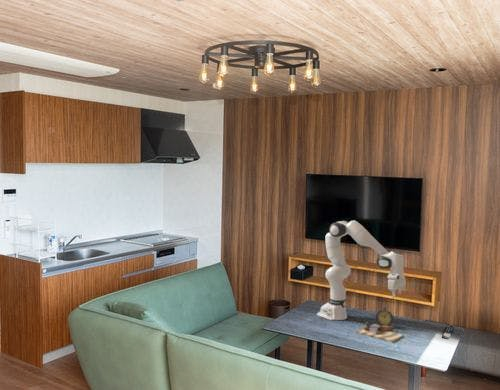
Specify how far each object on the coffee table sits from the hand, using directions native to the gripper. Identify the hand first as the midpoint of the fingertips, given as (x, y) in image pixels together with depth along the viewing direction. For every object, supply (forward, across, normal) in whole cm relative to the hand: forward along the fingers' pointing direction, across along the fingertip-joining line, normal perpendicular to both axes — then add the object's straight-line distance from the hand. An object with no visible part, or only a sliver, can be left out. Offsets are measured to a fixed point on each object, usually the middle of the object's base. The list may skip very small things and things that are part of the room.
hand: (397, 294), depth 327 cm
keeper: (+23, +18, -8) cm, 30 cm away
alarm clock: (+24, -1, -10) cm, 26 cm away
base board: (+24, +17, -5) cm, 30 cm away
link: (+23, +13, -8) cm, 27 cm away
